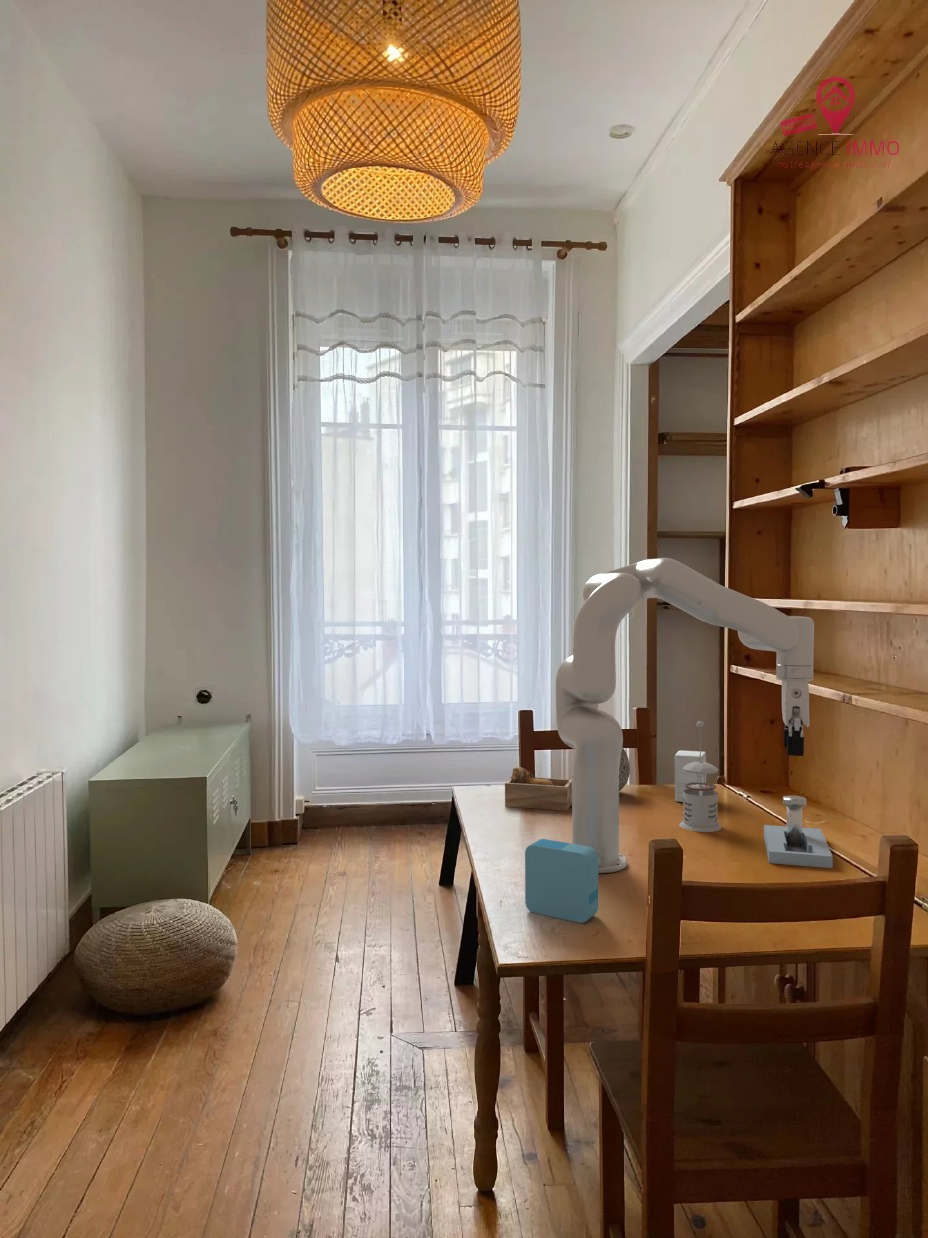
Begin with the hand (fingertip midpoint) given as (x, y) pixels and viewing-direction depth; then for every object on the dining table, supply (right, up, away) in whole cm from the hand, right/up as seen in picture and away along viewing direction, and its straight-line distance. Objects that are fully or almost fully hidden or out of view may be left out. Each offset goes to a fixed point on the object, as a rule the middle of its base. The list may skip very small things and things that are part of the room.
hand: (793, 751), depth 181 cm
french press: (-15, -21, +17) cm, 31 cm away
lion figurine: (-53, -20, +38) cm, 68 cm away
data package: (-55, -23, -37) cm, 70 cm away
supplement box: (-11, -20, +41) cm, 47 cm away
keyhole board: (-1, -21, -3) cm, 21 cm away
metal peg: (+1, -21, +1) cm, 21 cm away
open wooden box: (-52, -20, +38) cm, 67 cm away
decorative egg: (-32, -20, +48) cm, 61 cm away
